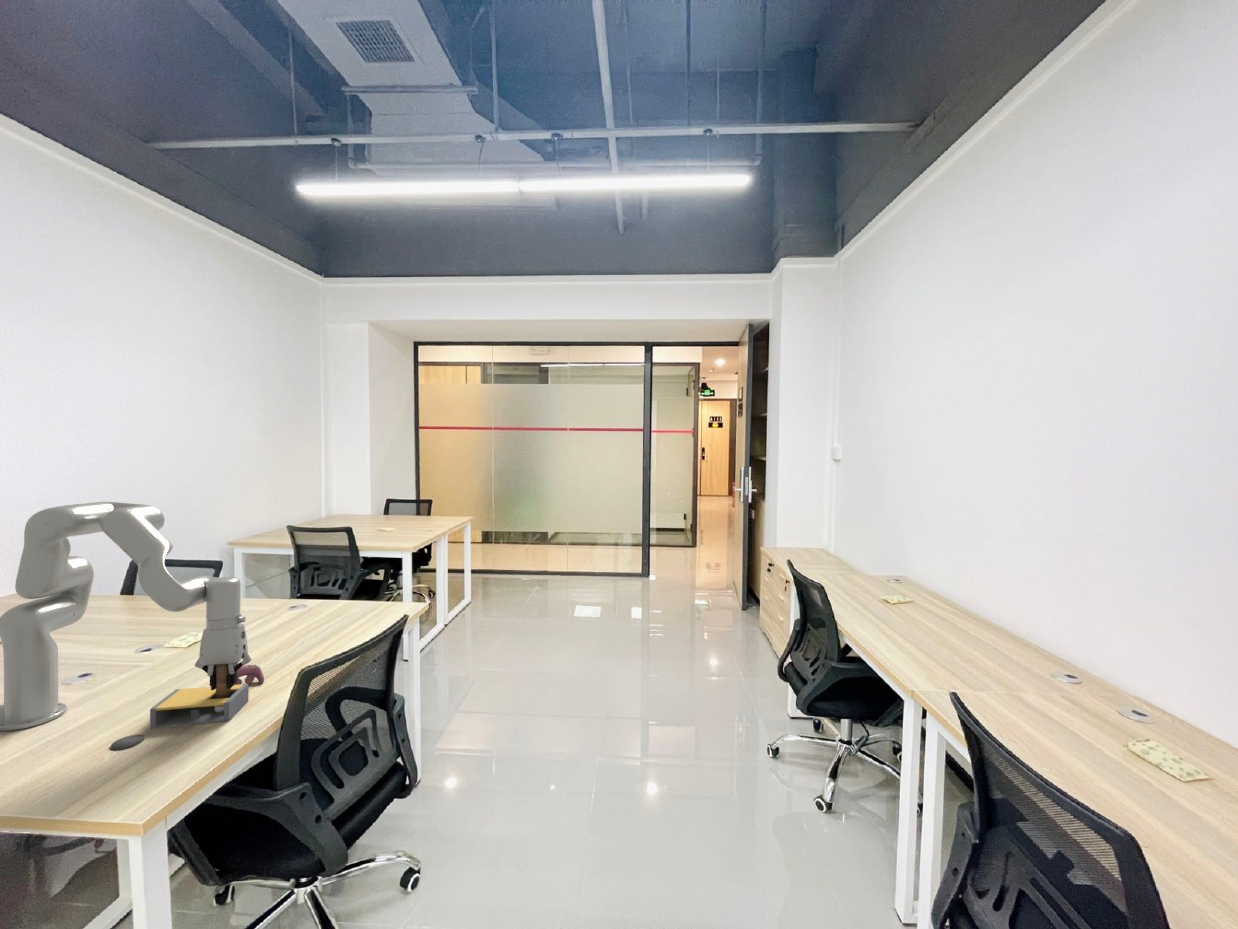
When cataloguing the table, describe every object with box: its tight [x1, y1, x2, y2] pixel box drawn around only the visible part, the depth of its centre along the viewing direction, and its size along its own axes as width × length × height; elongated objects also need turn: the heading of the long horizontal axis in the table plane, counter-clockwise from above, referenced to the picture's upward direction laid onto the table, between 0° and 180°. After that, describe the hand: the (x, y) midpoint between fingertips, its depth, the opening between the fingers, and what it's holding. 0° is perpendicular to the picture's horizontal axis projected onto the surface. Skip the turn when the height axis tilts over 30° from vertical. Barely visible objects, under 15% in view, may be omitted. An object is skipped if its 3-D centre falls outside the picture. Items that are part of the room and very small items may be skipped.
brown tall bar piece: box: [216, 664, 230, 706], centre depth 140 cm, size 3×3×13 cm
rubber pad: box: [110, 734, 145, 751], centre depth 125 cm, size 6×6×1 cm
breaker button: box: [215, 706, 224, 712], centre depth 140 cm, size 4×4×2 cm
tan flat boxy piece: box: [149, 683, 249, 729], centre depth 139 cm, size 18×11×5 cm, turn 104°
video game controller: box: [235, 664, 265, 685], centre depth 156 cm, size 10×5×7 cm, turn 141°
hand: (223, 686), depth 140 cm, fingers closed on brown tall bar piece, 3 cm apart
